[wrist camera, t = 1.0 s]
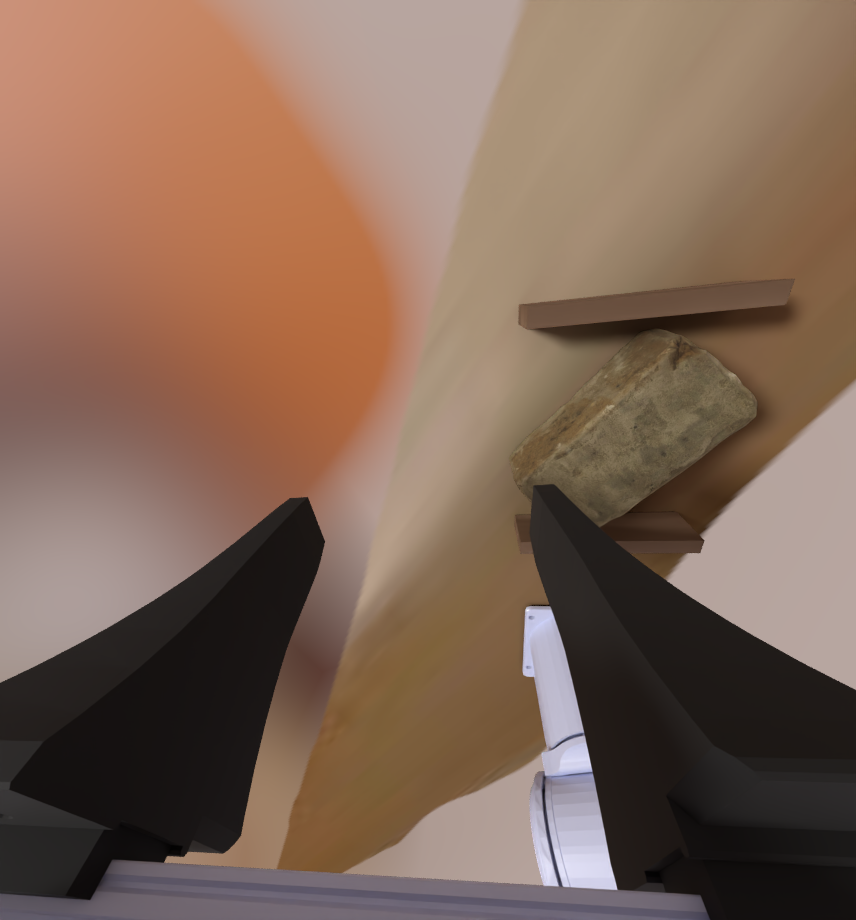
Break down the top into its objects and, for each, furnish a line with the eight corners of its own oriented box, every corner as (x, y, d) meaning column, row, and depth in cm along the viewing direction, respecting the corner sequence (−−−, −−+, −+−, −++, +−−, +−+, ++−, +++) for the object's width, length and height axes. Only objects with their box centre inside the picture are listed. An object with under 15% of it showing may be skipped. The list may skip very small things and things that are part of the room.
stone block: (709, 383, 19) (781, 410, 15) (558, 505, 24) (578, 554, 20) (642, 317, 18) (699, 326, 14) (498, 460, 23) (505, 500, 18)
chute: (673, 523, 23) (700, 552, 21) (514, 525, 25) (520, 553, 22) (742, 281, 17) (795, 278, 14) (518, 304, 18) (527, 306, 15)
